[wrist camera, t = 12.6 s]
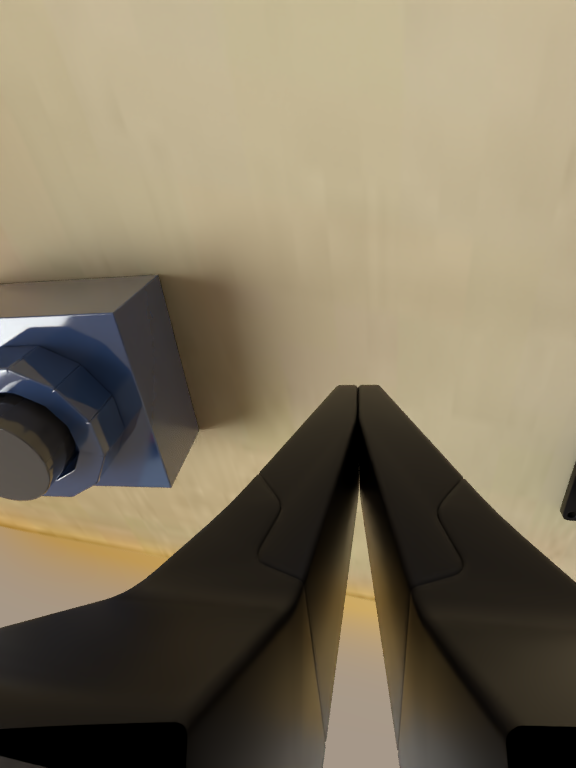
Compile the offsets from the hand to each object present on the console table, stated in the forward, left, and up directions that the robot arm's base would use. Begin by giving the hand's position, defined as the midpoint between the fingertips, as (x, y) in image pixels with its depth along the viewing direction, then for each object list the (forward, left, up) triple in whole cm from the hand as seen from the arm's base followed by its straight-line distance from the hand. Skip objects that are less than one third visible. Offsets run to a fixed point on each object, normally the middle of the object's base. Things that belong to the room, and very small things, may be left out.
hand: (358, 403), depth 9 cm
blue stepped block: (-6, +15, -13) cm, 21 cm away
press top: (-6, +15, -6) cm, 17 cm away
